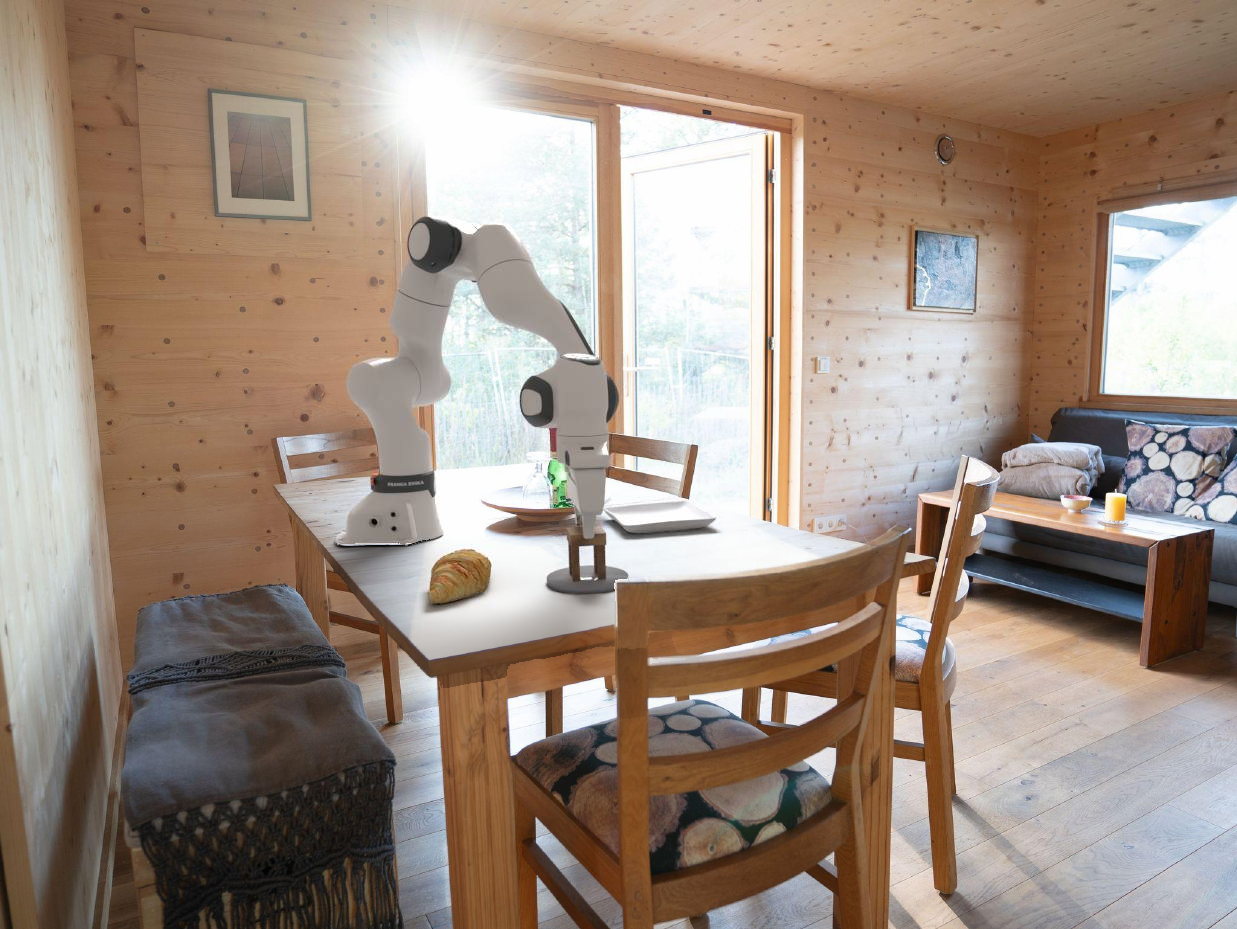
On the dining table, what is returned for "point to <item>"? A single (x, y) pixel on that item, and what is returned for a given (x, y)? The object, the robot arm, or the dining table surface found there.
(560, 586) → the grey flat disc
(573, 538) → the stool
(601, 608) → the dining table surface
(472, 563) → the croissant
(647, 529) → the salad plate
